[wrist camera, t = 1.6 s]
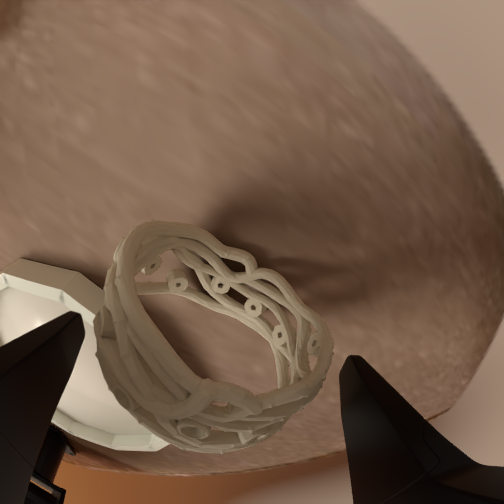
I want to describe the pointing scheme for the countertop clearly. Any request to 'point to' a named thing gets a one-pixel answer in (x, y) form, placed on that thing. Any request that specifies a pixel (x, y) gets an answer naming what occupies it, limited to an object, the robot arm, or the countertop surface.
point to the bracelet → (170, 364)
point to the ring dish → (87, 365)
